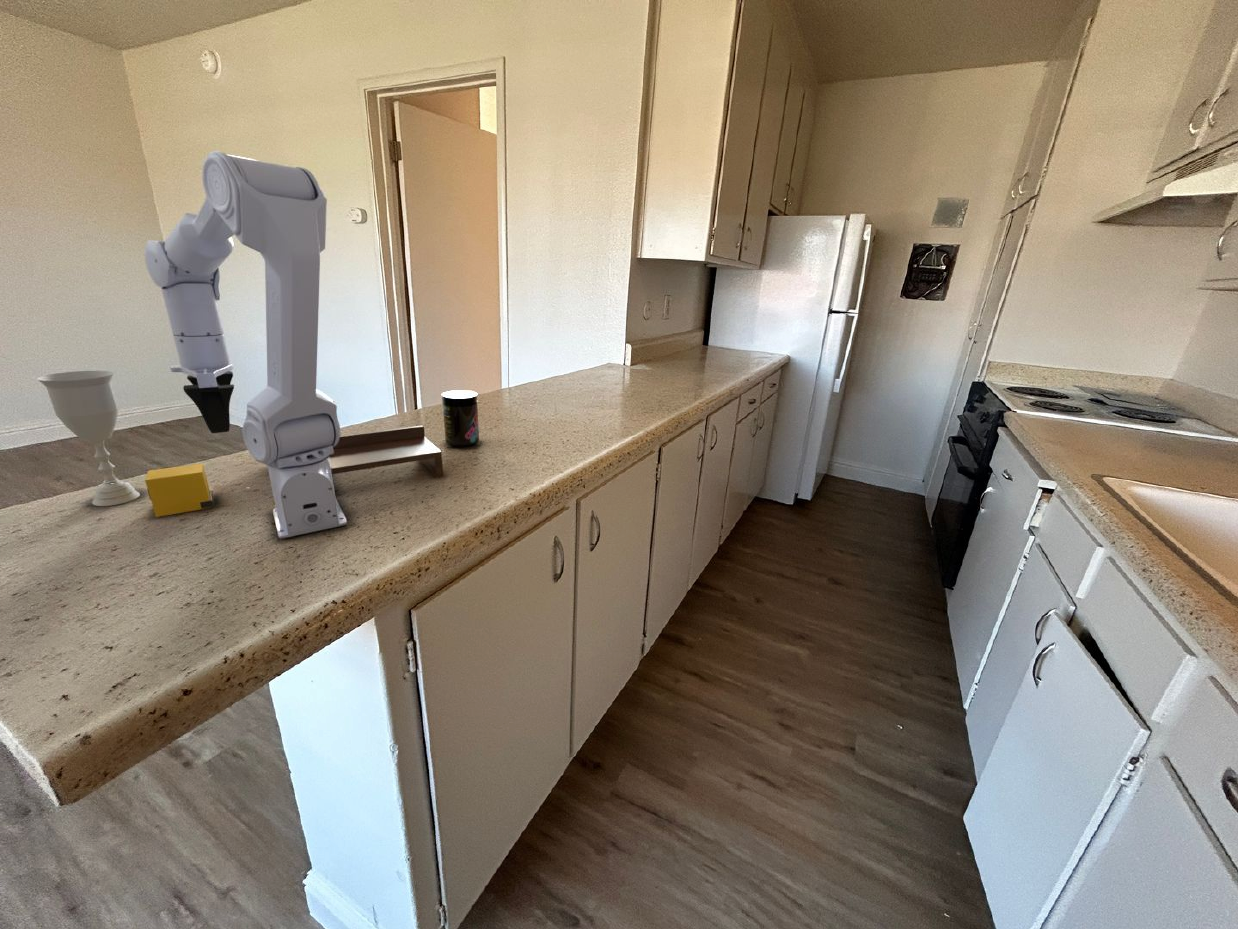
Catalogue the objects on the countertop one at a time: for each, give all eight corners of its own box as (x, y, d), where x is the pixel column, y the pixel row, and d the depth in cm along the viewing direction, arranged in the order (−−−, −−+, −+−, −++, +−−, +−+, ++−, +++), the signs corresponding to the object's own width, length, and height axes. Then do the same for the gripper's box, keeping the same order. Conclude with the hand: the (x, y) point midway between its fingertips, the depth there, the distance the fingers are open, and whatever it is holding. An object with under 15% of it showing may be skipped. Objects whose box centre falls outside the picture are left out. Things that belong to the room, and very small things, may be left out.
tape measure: (214, 507, 73) (204, 471, 71) (154, 517, 69) (142, 480, 67) (213, 497, 76) (205, 462, 74) (156, 506, 72) (146, 470, 70)
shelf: (443, 475, 88) (440, 440, 86) (326, 497, 78) (319, 457, 76) (425, 458, 96) (422, 425, 93) (316, 476, 85) (310, 439, 83)
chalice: (106, 512, 70) (63, 382, 64) (67, 505, 71) (21, 378, 65) (161, 491, 77) (127, 373, 71) (125, 486, 78) (88, 369, 72)
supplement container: (462, 451, 100) (459, 399, 97) (438, 444, 103) (434, 394, 100) (486, 443, 106) (484, 393, 102) (463, 437, 109) (460, 388, 105)
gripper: (166, 329, 76) (189, 416, 81) (157, 341, 65) (183, 442, 70) (225, 328, 80) (243, 412, 85) (225, 339, 69) (246, 435, 74)
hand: (220, 425), depth 78 cm, fingers open, 7 cm apart
